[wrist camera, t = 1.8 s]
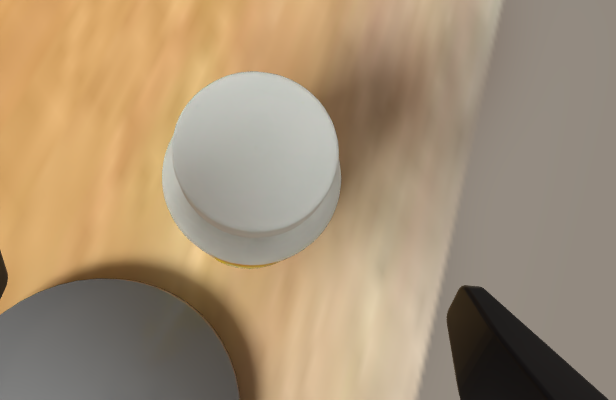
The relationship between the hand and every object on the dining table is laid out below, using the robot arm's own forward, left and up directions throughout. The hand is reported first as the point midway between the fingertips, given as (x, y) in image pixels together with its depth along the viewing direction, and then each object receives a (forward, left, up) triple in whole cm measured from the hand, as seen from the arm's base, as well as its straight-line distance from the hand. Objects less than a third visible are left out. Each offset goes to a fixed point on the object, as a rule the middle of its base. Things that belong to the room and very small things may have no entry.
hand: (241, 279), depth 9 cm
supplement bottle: (+3, 0, -11) cm, 11 cm away
